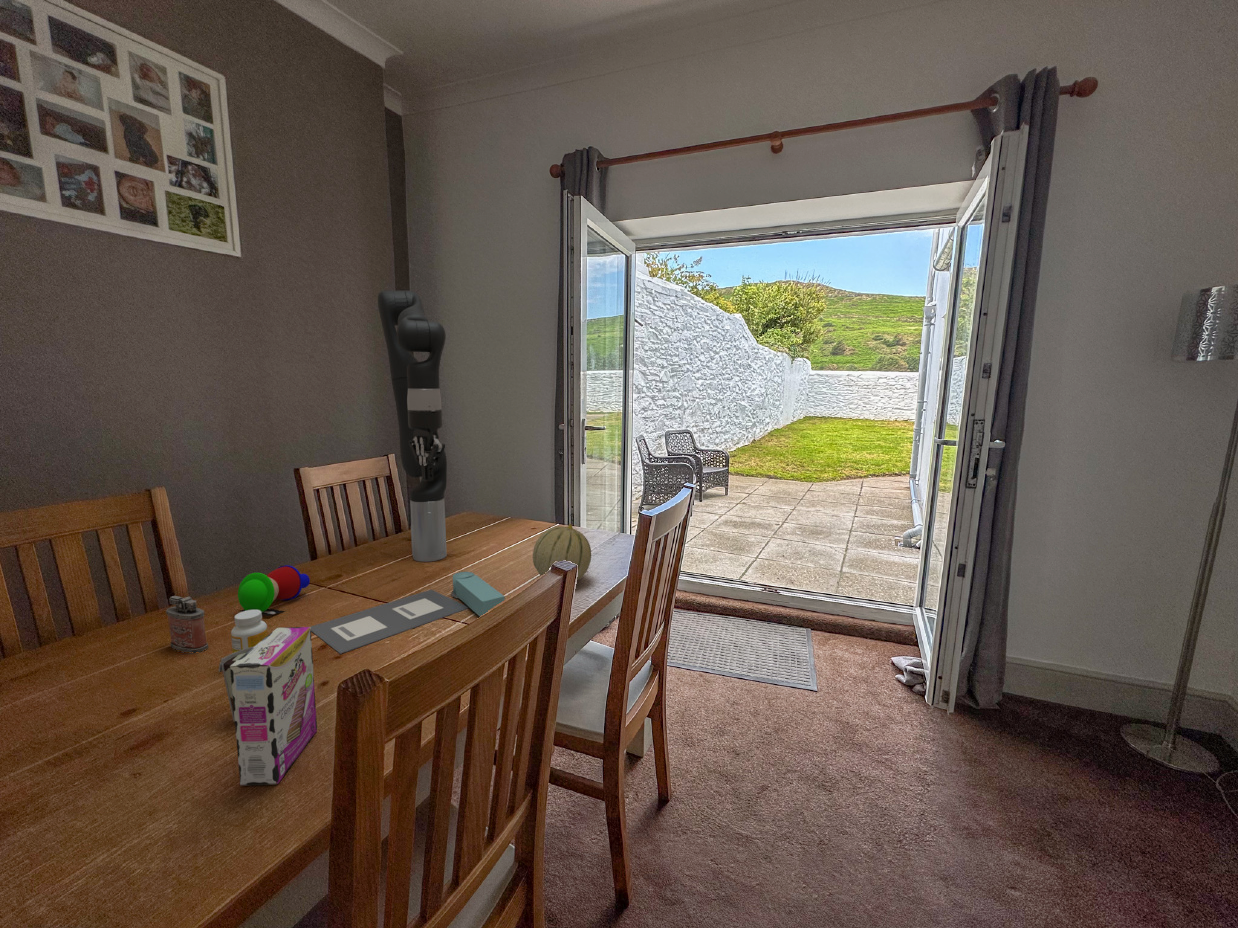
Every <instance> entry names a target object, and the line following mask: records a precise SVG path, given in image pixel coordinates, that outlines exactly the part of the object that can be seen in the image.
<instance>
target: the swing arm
mask: <svg viewBox="0 0 1238 928" xmlns="http://www.w3.org/2000/svg"><path fill="white" fill-rule="evenodd" d="M452 588H453V589H452V591H453V593H454V594H456V596H457V597H458V598H460V599H459V600H461V602H463V603H464V605H465V606H467V607H469V609H471V611H472V612H474V613H475V614H476V615H477V616H478V617H480V616H481V615H483V614H485V613H486V612H488V610H490V609H491V608H493V607H494V606H496V605H497V604H499V603H501V602H502V601H504V600H505V599H506V597H505V595H503V593H501V592H500V591H499V590H496V588H494V587H493V586H492V585H490V584H489V583H488V582H486V581H485V580H484V579H482V578H481V577H480V576H479V575H477V574H475V573H474V572H472V571H458V572H456V573H454V574H453V575H452ZM505 601H506V600H505Z"/></svg>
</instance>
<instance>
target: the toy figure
mask: <svg viewBox="0 0 1238 928" xmlns="http://www.w3.org/2000/svg"><path fill="white" fill-rule="evenodd" d="M300 572H301V571H299V570H298V568H296V567H294V566H293V565H289V564H286V565H282V566H279V567H277V568H275V569H274V570H272V571H271V572H269V573H268V574H267V575H266V574H264V573H262V572H252V573H249V574H247V575H246V576H245V577H244V578H243V579H242V580H241V582H240V583H239V586H238V590H237V599H238V602H239V606H241V607H242V609H239V612H243V611H247V610H260V611H261V612H262V616H267V617H269V616H273V615H277V614H281V613H284V612H286V611H284V610H281V611H279V609H273V608H270V607H271V605H272V604H273V602H274V601H275V600H278V601H279V600H281V601H290V600H294V599H295V598H297V597H298V596H299V595H300V593H301V591H302V589H305V588H307V587H308V586H309V585H310V582H311V581H310V577H309V575H308V574H306V573H300Z"/></svg>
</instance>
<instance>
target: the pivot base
mask: <svg viewBox="0 0 1238 928" xmlns="http://www.w3.org/2000/svg"><path fill="white" fill-rule="evenodd" d="M450 596H451V597H452V598H453V599H457V600H461V599H460V598H458V597H457V596H456V594H454V593H453V590H452V591H451V592H450Z"/></svg>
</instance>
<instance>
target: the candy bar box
mask: <svg viewBox="0 0 1238 928" xmlns="http://www.w3.org/2000/svg"><path fill="white" fill-rule="evenodd" d="M312 645H313V643H312V632H311V626H295V627H294V626H293V627H291V626H290V627H289V626H288V627H276V628H275V629H274V630H272V632H270V633H268V636H267V637H265V638H264V639H263V640H262V641H261V642H259V643H258V644H257V645H256V646H254V647H253V648H252V649H251V650H249V651H248V652H247V653H246V654H244V655H243V656H242V657H241V658H240V659H238V660H237V661H236V662H235V663H233V664H232V665H231V666H230V672H231V684H232V694H233V706H234V719H235V722H234V727H235V739H236V748H237V749H236V750H237V760H238V761H237V763H238V772H239V773H238V775H239V785H240V786H243V787H244V786H247V787H248V786H271V785H272V786H274V785H279V783H280V782H281V781H282V779H283V777H284V776H285V775H286V774H287V772H288V771H289V769H290V768H291V767H292V765H294V763H295V761H296V760H297V759H298V757H299V756H300V755H301V753H302V752H303V751H304V749H305V748H306V746H307V745H308V744H309V742H310V741H311V740H312V738H313V737H314V735H315V734H317V731H318V721H317V709H316V693H315V691H316V690H315V677H314V676H315V675H314V658H313V646H312Z"/></svg>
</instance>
